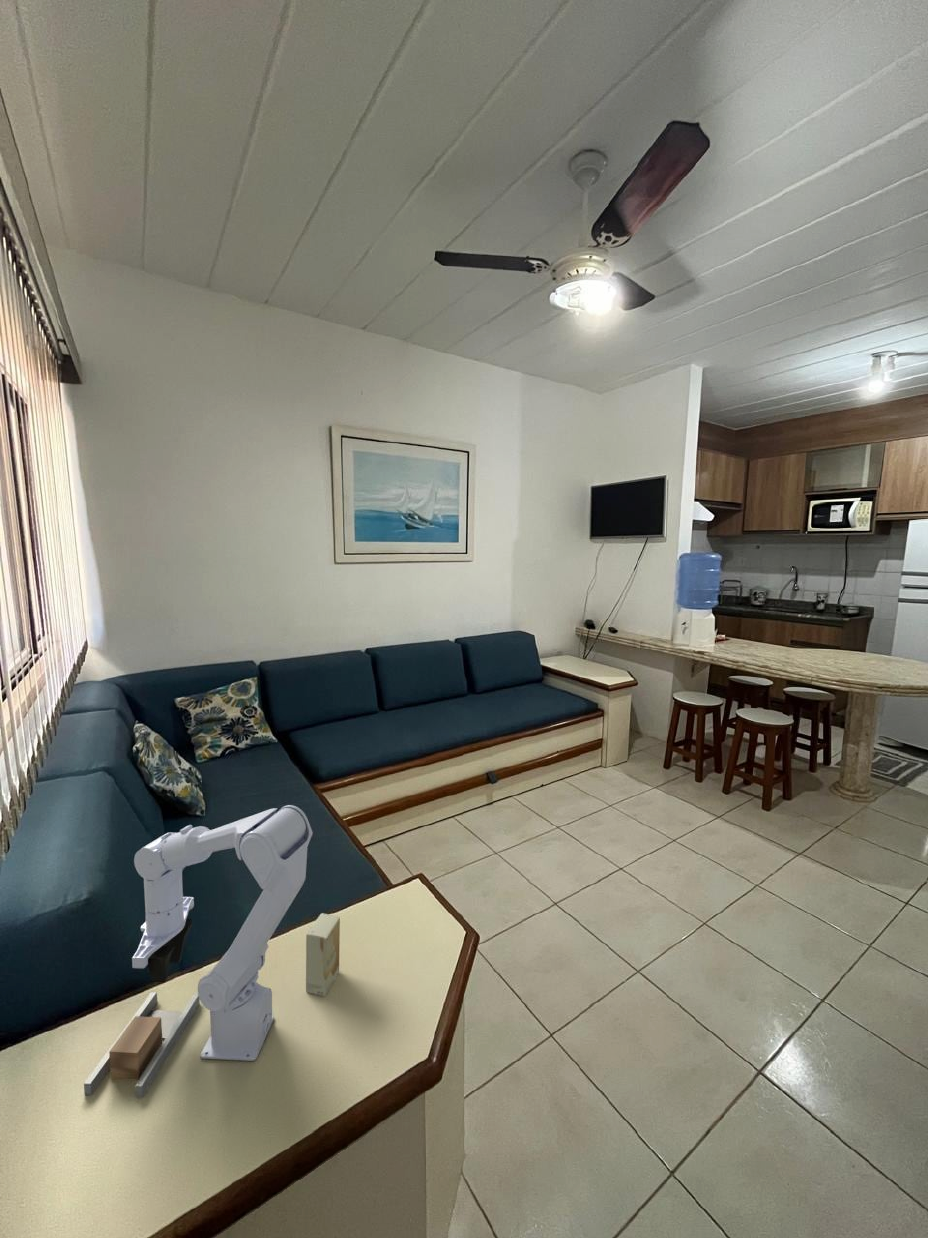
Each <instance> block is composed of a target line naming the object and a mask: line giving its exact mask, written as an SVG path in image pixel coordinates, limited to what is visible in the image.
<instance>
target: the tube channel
mask: <svg viewBox="0 0 928 1238" xmlns="http://www.w3.org/2000/svg"><path fill="white" fill-rule="evenodd" d="M200 1002H201V1001H200V999H199V996H198V993H193V994H192V996H191V997H190V999H189V1001H188V1003H187V1004H186V1006H185V1007H184V1009H183V1010H182V1011H181V1010H180V1011H178V1010H164V1009H163V1010H160V1009H154V1007H155V1005H156V1004H157V1003H158V992H157V991H151V992H150V993H149V995H148V996H147V997H146V999H145V1000H144V1001H143V1003H142V1004H141V1006H139V1008H138V1009H137V1010H136V1012H135V1013H134V1015H133V1016H132V1017H131V1019H130V1020H129V1022H128V1023H127V1024H126V1026H125V1027H124V1029H122V1031H121V1033H120V1034H119V1035H118V1036H117V1038H116V1039H115V1041H114V1042H112V1044H111V1046H110V1047H109V1048H108V1050H107V1051H106V1053H105V1054H104V1055H103V1057H102V1058H101V1060H100V1061H99V1062H98V1063H97V1064H96V1067H95V1068H94V1069H93V1070H92V1072H91V1073H90V1074H89V1076H88V1077H87V1078H86V1080H85V1081H84V1083H83V1089H84V1091H83V1092H84V1095H85V1096H92V1095H93V1093H94V1091H95V1090H96V1089H97V1087H98V1086H99V1084H100V1083H101V1082H102V1080H103V1079H104V1078H105V1076H106V1074H107V1073H108V1072H109V1070H110V1056H109V1051H110V1050H111V1049H112V1047H113V1046H114V1044H115V1043H116V1042H117V1040H118V1039H119V1038H120V1036H121V1035H122V1034H123V1032H124V1031H125V1029H126V1028H127V1027H128V1025H129V1024H130V1023H131V1021H132V1020H133V1019H134V1017H135V1016H142V1017H161V1022H162V1044H161V1046H160V1047H159V1049H158V1051H157V1052H156V1054H155V1055H154V1057H153V1058H152V1060H151V1061H150V1063H149V1065H148V1066H147V1068H146V1069H145V1071H144V1072H143V1074H142V1076H141V1077H140V1079H139V1080H137V1082H136V1084H135V1085H134V1086H135V1087H134V1090H135V1092H134V1093H135V1098H143V1097H144V1096H145V1094H146V1092H147V1090H148V1089H149V1087H150V1085H151V1084H152V1082H153V1081H154V1079H155V1077H156V1076H157V1074H158V1072H159V1071H160V1069H161V1067H162V1065H163V1064H164V1062H165V1061H166V1059H167V1058H168V1056H169V1054H170V1053H171V1052H172V1050H173V1048H174V1046H175V1045H176V1043H177V1042H178V1040H179V1038H180V1037H181V1034H183V1031H184V1030H185V1028H186V1026H187V1024H189V1022H190V1020H191V1018H192V1017H193V1015H194V1013H195V1012H196V1010H197V1008H198V1007H199V1005H200Z"/></svg>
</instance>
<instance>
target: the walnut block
mask: <svg viewBox="0 0 928 1238" xmlns="http://www.w3.org/2000/svg"><path fill="white" fill-rule="evenodd" d="M162 1043H163V1040H162V1022H161V1017H142V1016H135V1017H134V1019H133V1020H132V1021H131V1023H130V1024H129V1025H128V1027H127V1028H126V1029H125V1031H124V1032H123V1034H122V1035H121V1036H120V1038H119V1039H118V1040H117V1042H116V1043H115V1044H114V1046H113V1047H112V1049H111V1050H110V1051H109V1056H110V1069H109V1070H110V1079H115V1080H131V1081H133V1080H134V1081H135V1080H136V1081H139V1079H140V1078H141V1076H142V1074H143V1073H144V1071H145V1070H146V1068H147V1067H148V1065H149V1063H150V1062H151V1060H152V1059H153V1057H154V1056H155V1054H156V1052H157V1051H158V1049H159V1048H160V1046H161V1045H162Z"/></svg>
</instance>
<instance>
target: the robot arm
mask: <svg viewBox="0 0 928 1238" xmlns="http://www.w3.org/2000/svg"><path fill="white" fill-rule="evenodd" d="M277 810H278V808H277V807H276V808H270V809H267V810H264V811H262V812H258V813H255V814H253V815H250V816H247V817H244V818H241V819H238V820H236V821H233V822H230V823H228V824H224V825H222V826H219V827H216V828H214V829H209V828H208V827H206V826H204V825H203V826H202V825H199V826H195V827H193V825H192V824H189V825H186V826H185V827H183V828H181V829H180V830H179V832H171V831H170V832H167V833H165V834H163V835H161V836H159V837H158V838H156V839H155V840H153V841H151V842H150V843H148V844H146V845H145V846H143V847H141V848H140V849H139V850H138V851H136V852H135V854H134V858H133V863H134V864H133V865H134V867H135V869H136V871H137V873H138V875H139V876H140V877H141V878H143V889H144V890H143V891H144V906H145V907H144V908H145V909H144V910H145V911H144V912H145V922H144V923H143V924H142V925H141V926H140V931H141V932H143V934H142V937H141V940H140V942H139V944H138V948H137V950H136V951H135V953H134V954H133V956H132V957H131V962H132V965H131V966H132V967H131V968H132V969H145V968H146V969H147V971H148V972H149V973H150V976H151V979H152V981H153V982H154V983H166V981H168V977H169V969H170V964H180V962H181V960H182V957H183V952H184V947H185V944H186V941H187V937H188V935H189V932H190V930H191V928H192V926H193V923H194V919H193V918H192V917H188V915H189V912H190V911H191V910H192V909H193V908H194V907H195V901H194V899H195V897H193V896H184V893H183V892H184V891H183V870H184V869H185V868H186V867H189V866H192V865H196V864H199V863H202V862H205V861H207V860H208V859H209V857H211V855H212V853H215V852H219V851H224V850H228V849H235V853H236V856H237V859H238V860H239V861H242V860H243V862H244V865H246V867H247V869H248V870H249V871H250V874H251V875H252V876H253V878H254V879H255V881H256V882H257V884H258V885H259V887H260V888H261V890H262V892H261V893H260V895H259V897H258V899H257V900H256V902H255V903H254V905H253V907H252V909H251V910H250V912H249V914H248V916H247V918H246V919H245V921H244V922H243V924H242V926H241V928H240V929H239V931H238V933H237V935H236V937H235V938H234V940H233V942H232V943H231V945H230V947H229V948H228V950H227V951H226V952H225V954H223V956H222V957H221V958H220V959H219V961H218V962H217V963H216V964H215V966H213V967H212V968H211V970H209V971H208V972H207V974H205V975H203V976H202V977H201V978H200V979H199V981H198V983H197V994H198V996H199V1000H200V1002H201V1004H202V1005H203V1006H204V1008H205V1009H207V1010H208V1011H209V1015H210V1035H209V1037H208V1039H207V1041H206V1043H205V1045H204V1047H203V1048H202V1050H201V1052H200V1054H199V1056H200V1059H207V1060H208V1059H209V1060H226V1061H227V1060H231V1061H248V1062H249V1061H251V1062H252V1061H254V1062H255V1061H256V1059H257V1058H258V1056H259V1054H260V1051H261V1048H262V1047H263V1044H264V1043H265V1042H264V1041H266V1040H265V1039H266V1037H267V1035H268V1032H269V1031H270V1028H271V1026H272V1023H273V1021H274V1019H275V1017H274V1014H273V994H272V993H273V992H272V988H271V987H267V986H264V985H262V984H259V983H258V982H257V980H258V979H259V971H260V970H261V969H263V967H264V965H265V963H266V952H267V950H268V948H269V944H268V942H269V941H270V940H271V937H272V936H273V934H274V933H275V931H276V929H277V927H278V926H279V924H280V923H281V922H282V919H283V918H284V916H285V915H286V913H287V911H288V910H289V908H290V907H291V905H292V903H293V901H294V900H295V898H296V896H297V894H298V893H299V891H300V890H301V888H302V887H303V885H304V883H305V881H306V878H307V877H306V874H307V864H308V863H307V860H308V846H309V844H310V841H311V839H312V837H313V834H314V833H313V830H312V827H311V824H310V822H309V819H308V816H306V813H305V812H304V811H303V810H302V809H301V808H300V807H298V806H296V805H292V804H287V805H284V806H282V807H281V808H280V809H279V810H278V811H277Z"/></svg>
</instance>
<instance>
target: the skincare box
mask: <svg viewBox="0 0 928 1238" xmlns="http://www.w3.org/2000/svg"><path fill="white" fill-rule="evenodd" d="M340 919H341V916H338V915H337V916H336V915H333V914H328V913H324V912H321V913H320V914H319V915H318V917H317V918H316V920H315V921H314V922H313V924H312V925H311V927H310V929H309V930H308V931H307V933H306V934H305V935H306V936H305V937H306V939H305V940H306V941H305V951H306V952H305V992H306V993H309V994H314V995H319V996H324V997H326V995H327V994H328V993H329V991H330V989H331V988H332V986H333V984H334V982H335V981H336V979H337V977H338V975H337V974H339V973H340V942H341V941H340V937H341V935H340V932H341V931H340V929H341V928H340V927H341V925H340V924H341V920H340ZM336 976H337V977H336ZM335 978H336V979H335ZM334 980H335V981H334Z"/></svg>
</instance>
